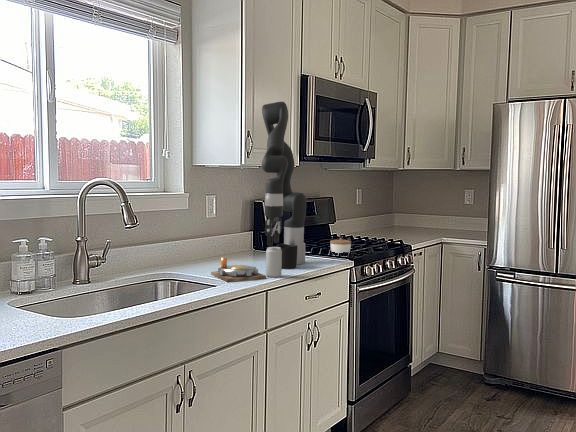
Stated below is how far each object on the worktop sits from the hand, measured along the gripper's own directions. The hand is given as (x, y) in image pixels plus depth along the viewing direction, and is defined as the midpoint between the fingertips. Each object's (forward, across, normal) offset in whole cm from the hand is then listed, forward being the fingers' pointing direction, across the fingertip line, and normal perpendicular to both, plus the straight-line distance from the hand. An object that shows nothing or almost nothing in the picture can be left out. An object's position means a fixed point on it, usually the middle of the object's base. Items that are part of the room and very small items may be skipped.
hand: (273, 244), depth 226 cm
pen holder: (+13, -22, 0) cm, 26 cm away
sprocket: (+12, +6, -13) cm, 18 cm away
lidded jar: (+13, -64, +16) cm, 67 cm away
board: (+14, +6, -13) cm, 19 cm away
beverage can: (+14, 0, 0) cm, 14 cm away
